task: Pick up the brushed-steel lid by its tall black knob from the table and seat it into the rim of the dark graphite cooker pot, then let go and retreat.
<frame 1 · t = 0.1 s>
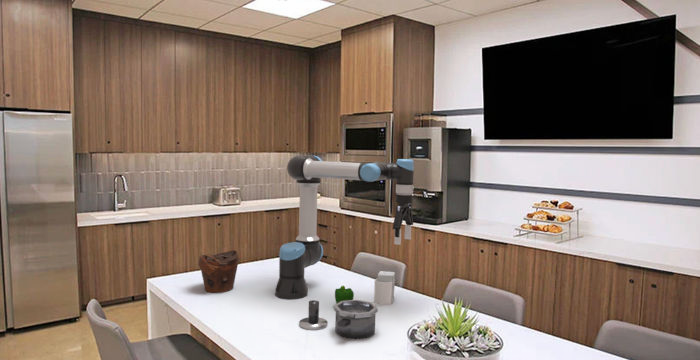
hand: (402, 241, 211), 28 cm above the table, fingers open, 13 cm apart
bell pepper: (343, 307, 206), on the table
lid: (313, 325, 185), on the table
pot: (355, 331, 180), on the table
cup: (385, 301, 216), on the table, touching supplement box
chocolate muffin: (218, 289, 227), on the table
supplement box: (385, 301, 216), on the table, touching cup
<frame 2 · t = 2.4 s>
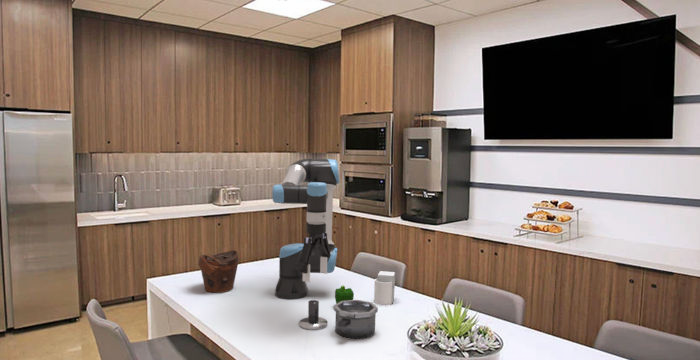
hand: (315, 277, 184), 19 cm above the table, fingers open, 13 cm apart
nothing on the table moved.
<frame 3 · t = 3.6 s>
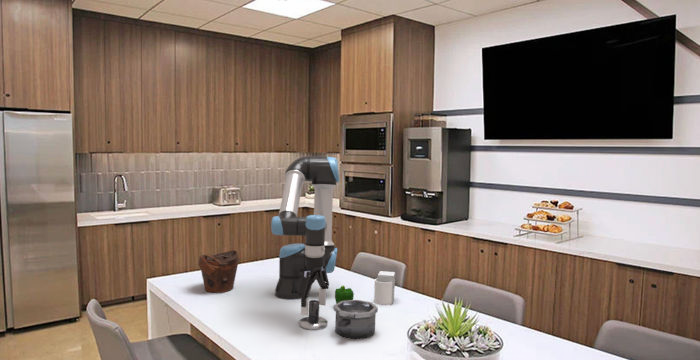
hand: (313, 309, 184), 6 cm above the table, fingers open, 13 cm apart
nothing on the table moved.
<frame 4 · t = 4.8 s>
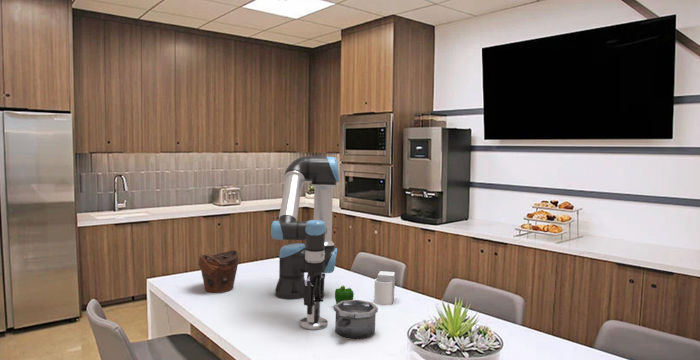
hand: (313, 319, 185), 2 cm above the table, fingers closed on lid, 4 cm apart
lid: (313, 324, 185), on the table, touching gripper
everything else where it was.
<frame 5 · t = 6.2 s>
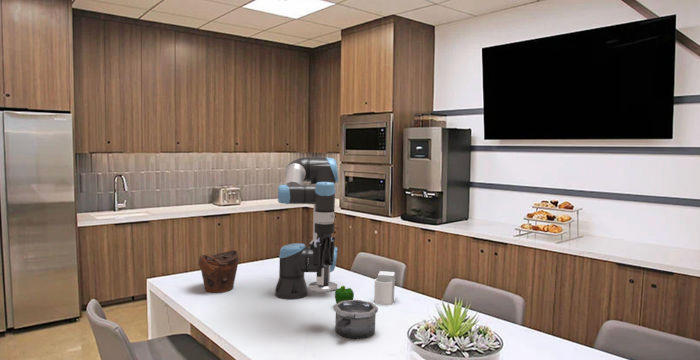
hand: (323, 283, 182), 17 cm above the table, fingers closed on lid, 4 cm apart
lid: (323, 288, 182), point 15 cm above the table, touching gripper
everything else where it was.
when the fingers open (11 cm above the table, at t = 8.1 s): lid stays where it is, resting on pot.
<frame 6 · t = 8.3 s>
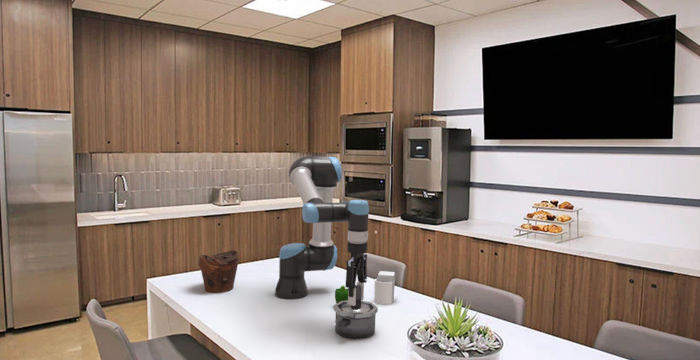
hand: (355, 302, 179), 11 cm above the table, fingers open, 7 cm apart
lid: (355, 310, 179), point 8 cm above the table, touching pot
everything else where it was.
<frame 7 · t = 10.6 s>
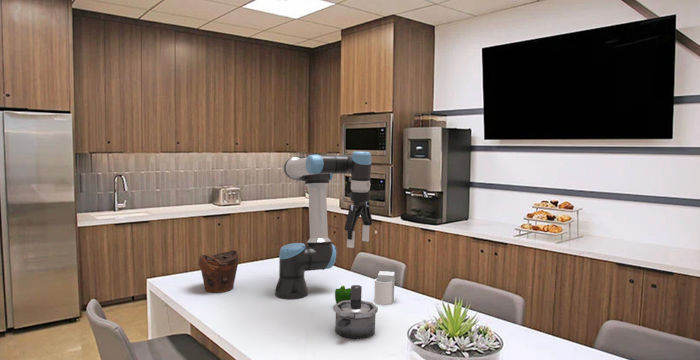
hand: (358, 244, 188), 31 cm above the table, fingers open, 13 cm apart
nothing on the table moved.
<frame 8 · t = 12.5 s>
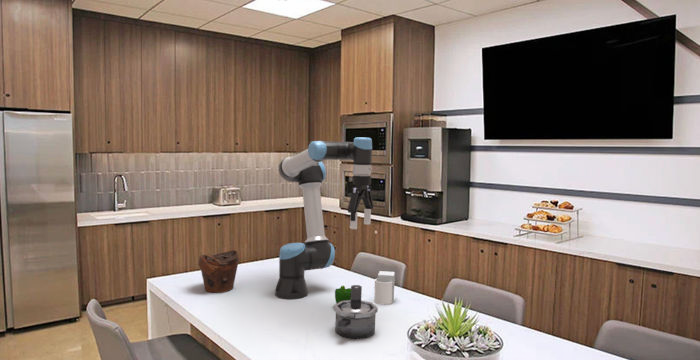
hand: (360, 226, 196), 37 cm above the table, fingers open, 13 cm apart
nothing on the table moved.
at the end: lid 0.0 cm off-centre on the pot, point 8.0 cm above the pot's base; lid tilted 0°; the gripper is holding nothing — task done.
